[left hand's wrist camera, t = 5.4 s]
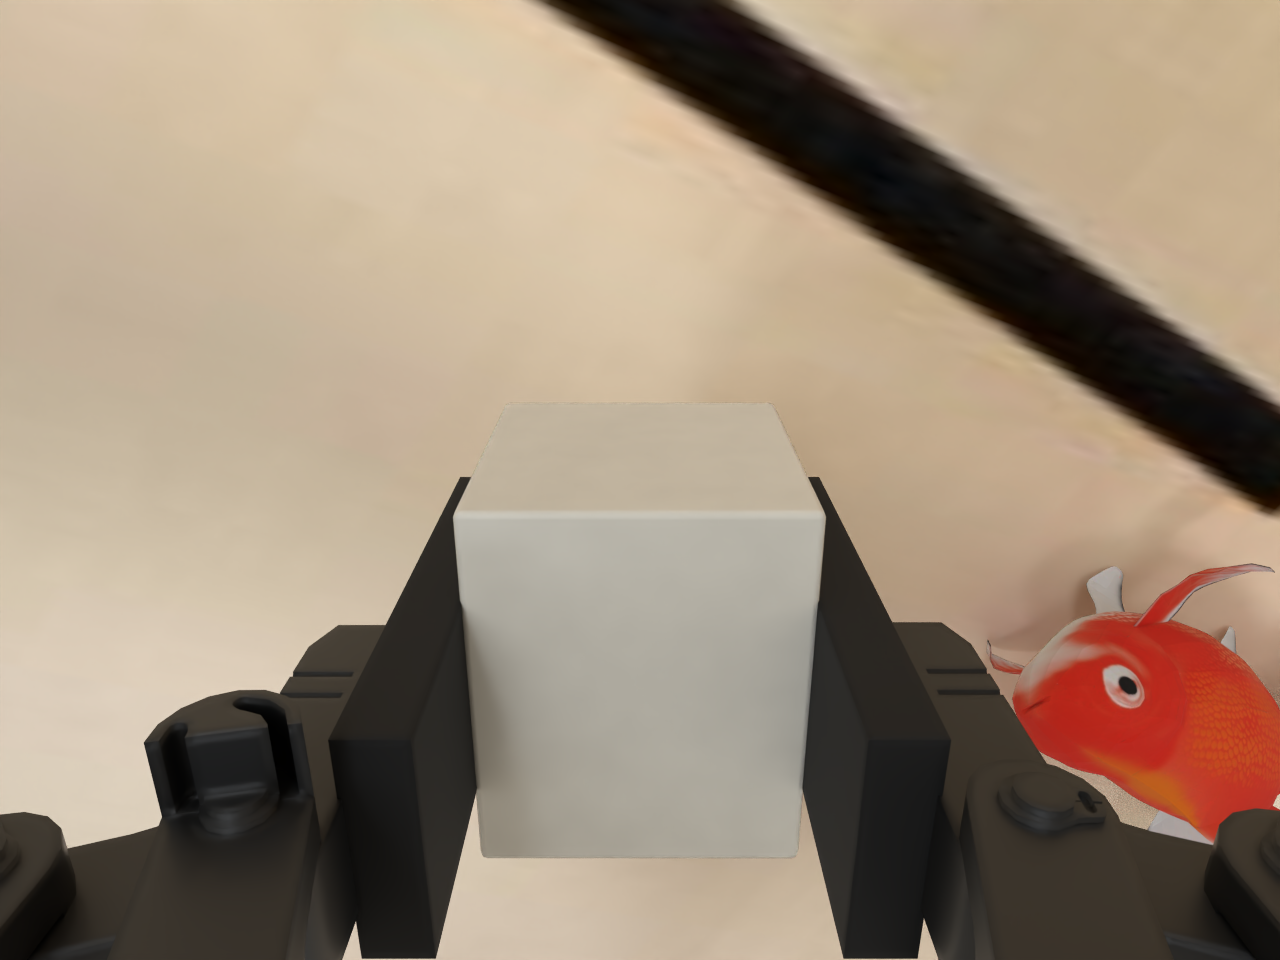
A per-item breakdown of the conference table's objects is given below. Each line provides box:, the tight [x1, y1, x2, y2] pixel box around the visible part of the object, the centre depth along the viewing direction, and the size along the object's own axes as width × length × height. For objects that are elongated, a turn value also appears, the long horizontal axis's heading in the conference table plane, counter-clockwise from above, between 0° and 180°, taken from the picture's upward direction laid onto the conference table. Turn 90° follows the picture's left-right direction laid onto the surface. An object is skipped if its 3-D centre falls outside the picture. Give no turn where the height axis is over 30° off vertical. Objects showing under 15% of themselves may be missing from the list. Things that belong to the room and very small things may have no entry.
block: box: [453, 403, 826, 858], centre depth 13 cm, size 5×4×4 cm
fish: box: [987, 564, 1280, 845], centre depth 24 cm, size 11×16×10 cm
